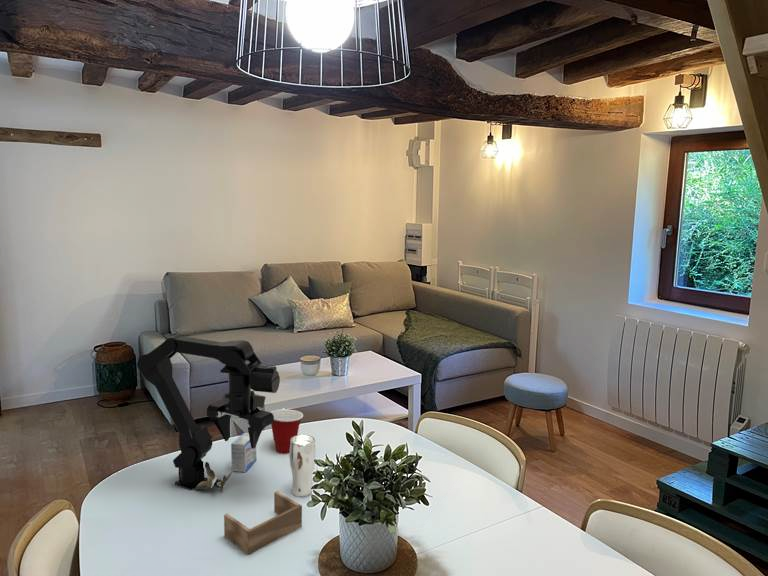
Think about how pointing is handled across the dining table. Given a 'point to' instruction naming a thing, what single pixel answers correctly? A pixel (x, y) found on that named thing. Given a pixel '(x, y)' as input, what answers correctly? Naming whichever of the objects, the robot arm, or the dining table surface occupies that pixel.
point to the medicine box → (242, 453)
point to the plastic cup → (285, 428)
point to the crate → (265, 525)
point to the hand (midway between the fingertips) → (240, 444)
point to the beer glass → (302, 464)
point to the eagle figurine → (212, 480)
